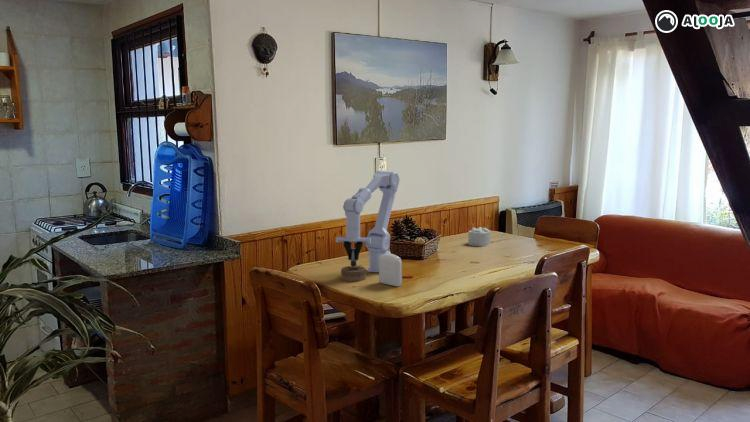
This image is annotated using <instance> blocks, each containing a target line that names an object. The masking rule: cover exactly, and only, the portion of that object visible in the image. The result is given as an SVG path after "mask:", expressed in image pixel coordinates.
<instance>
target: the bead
mask: <svg viewBox="0 0 750 422" xmlns="http://www.w3.org/2000/svg"><path fill="white" fill-rule="evenodd" d="M340 279H341V280H343V281H346V282H361V281H365V280H366V279H367V269H366V268H365V267H364V266H358V265H356V266H351V265H350V266H349V265H348V266H344V267H343V266H342V267H341V268H340Z"/></svg>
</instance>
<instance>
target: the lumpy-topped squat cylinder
mask: <svg viewBox="0 0 750 422" xmlns="http://www.w3.org/2000/svg"><path fill="white" fill-rule="evenodd" d="M467 237H468V241H467V245H468V246H473V247H480V246H482V247H487V245H488V246H490V245H491V230H490V229H488V228H487V227H481V226H479V227H478V228H476V227H472V228H471V230H468V236H467ZM489 244H490V245H489Z"/></svg>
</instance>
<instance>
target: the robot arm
mask: <svg viewBox="0 0 750 422" xmlns="http://www.w3.org/2000/svg"><path fill="white" fill-rule="evenodd" d="M400 181H401V180H400V176H399V173H398V172H397V171H388V170H387V171H386V170H385V171H384V170H377V171H376V172H375V173H374V174H373V178H372V179H371V180H370V182H369V183H368V184H367V185H366V186H365V187H361V188H358V190H357V192H356V193H355V194H354V195H352V196H351V197H349V198H347V199H345V200H344V203H343V205H342V207H343V211H344V215H345V218H346V219H345V220H346V221H345V222H346V223H345V224H346V226H345V227H346V229H345V230H346V234H345V235H346V236H337V237H335V242H336V243H343V244H342V245H343V248H344V249H345V251H346V254H347V259H348V261H351V248H352V245H353V244H355V245H354V246H355V247H354V248H356V261H359V258H360V252H361V249H362V247H363V245H365V247H366V248H367V251H369V253H368V254H369V255H368V257H369V259H368V260H369V261H368V263H369V264H368V265H369V267H368V268H367V269H366V273H379V257H380V255H382V254H392V253H391V251H390V250H389V248H390V245H391V242H390V240H391V235H390V233H389V232H388V230H387V229H388V226H389V221H390V217H391V213H392V210H393V205H394V201H395V197H396V193H397V191H398V188H399V185H400ZM377 189H378V190H379V191H380V192H382V198H381V201H380V205H379V208H378V213H377V216H376V221H375V224H374V227H373V228H371V229H370V230H369V231H368V234H367V236H366V237H363V236H362V237H361V212H363V211H364V208H365V205H366V203H367V202H368V201H369V200H370V199H371V198H372V193H374V192H375V191H376V190H377ZM352 243H353V244H352Z"/></svg>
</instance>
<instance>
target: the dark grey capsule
mask: <svg viewBox="0 0 750 422" xmlns="http://www.w3.org/2000/svg"><path fill="white" fill-rule="evenodd" d="M350 266H357V260H356V248H355V247H354V248H353V247H351V260H350Z"/></svg>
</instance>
